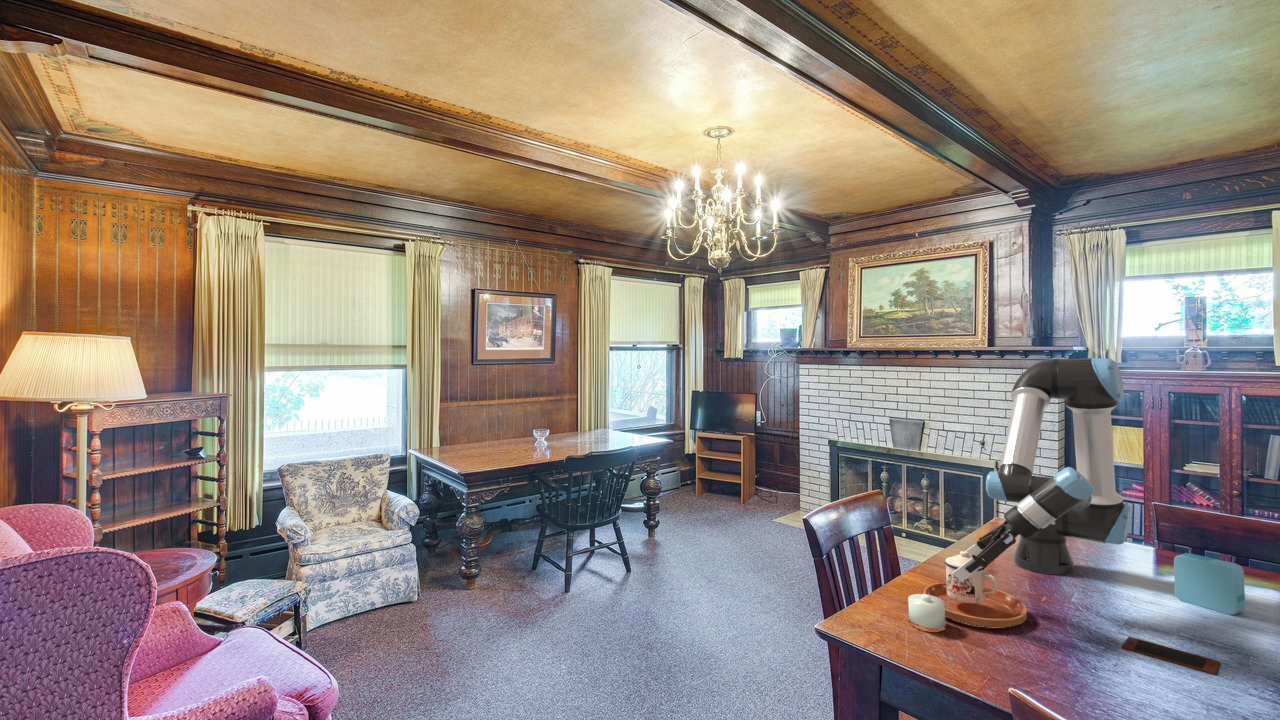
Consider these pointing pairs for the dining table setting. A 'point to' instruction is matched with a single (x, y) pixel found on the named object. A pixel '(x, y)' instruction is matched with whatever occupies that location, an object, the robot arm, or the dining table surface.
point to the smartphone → (1172, 655)
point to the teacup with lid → (966, 581)
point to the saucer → (983, 608)
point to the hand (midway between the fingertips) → (958, 569)
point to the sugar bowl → (927, 610)
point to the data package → (1209, 583)
